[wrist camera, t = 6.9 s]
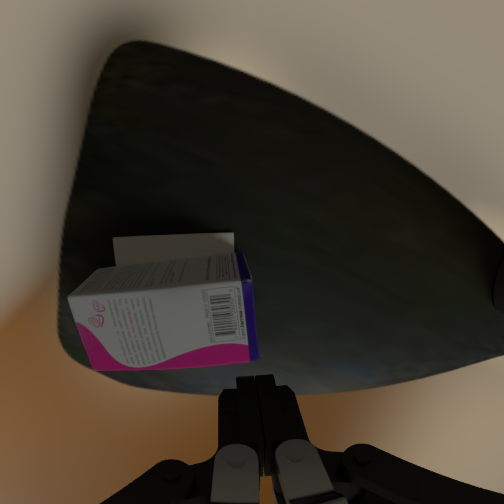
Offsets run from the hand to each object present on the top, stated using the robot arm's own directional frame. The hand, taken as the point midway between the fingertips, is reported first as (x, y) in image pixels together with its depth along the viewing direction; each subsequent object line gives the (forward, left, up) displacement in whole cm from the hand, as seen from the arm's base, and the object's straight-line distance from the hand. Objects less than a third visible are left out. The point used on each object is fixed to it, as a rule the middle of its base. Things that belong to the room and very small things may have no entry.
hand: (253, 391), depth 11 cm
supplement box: (-1, 0, -9) cm, 9 cm away
